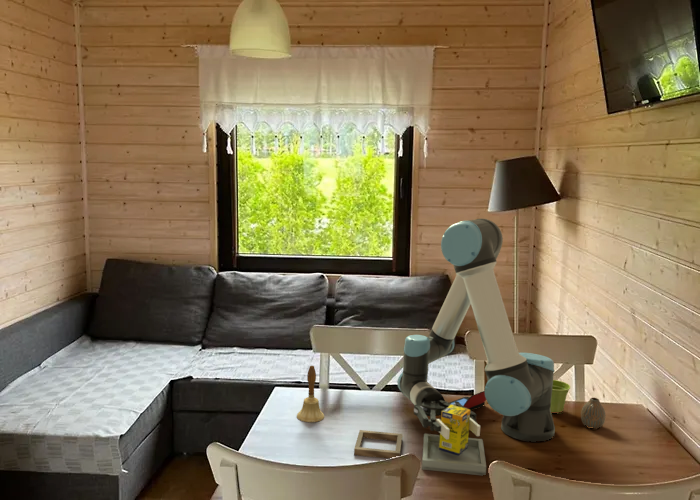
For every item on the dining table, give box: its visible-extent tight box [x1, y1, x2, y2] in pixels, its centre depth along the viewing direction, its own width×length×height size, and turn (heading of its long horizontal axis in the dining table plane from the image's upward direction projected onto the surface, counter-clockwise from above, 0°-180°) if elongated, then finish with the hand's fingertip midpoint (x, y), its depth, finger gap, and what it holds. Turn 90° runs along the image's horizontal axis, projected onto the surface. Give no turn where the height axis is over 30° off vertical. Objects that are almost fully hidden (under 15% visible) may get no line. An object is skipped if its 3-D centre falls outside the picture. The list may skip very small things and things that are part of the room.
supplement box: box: [439, 405, 472, 456], centre depth 176 cm, size 6×6×11 cm
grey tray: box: [421, 433, 487, 476], centre depth 177 cm, size 16×16×2 cm
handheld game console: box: [449, 390, 487, 411], centre depth 211 cm, size 12×11×7 cm
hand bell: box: [296, 365, 325, 423], centre depth 198 cm, size 8×8×16 cm
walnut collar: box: [353, 429, 403, 460], centre depth 181 cm, size 12×12×2 cm
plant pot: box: [550, 379, 571, 412], centre depth 211 cm, size 9×9×9 cm
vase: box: [580, 397, 606, 429], centre depth 200 cm, size 7×7×9 cm
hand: (463, 432), depth 171 cm, fingers closed on supplement box, 8 cm apart
